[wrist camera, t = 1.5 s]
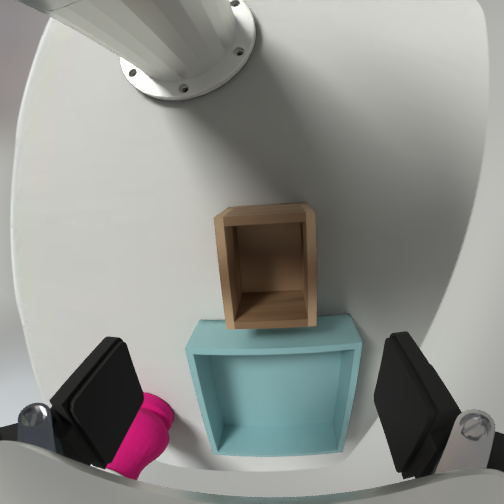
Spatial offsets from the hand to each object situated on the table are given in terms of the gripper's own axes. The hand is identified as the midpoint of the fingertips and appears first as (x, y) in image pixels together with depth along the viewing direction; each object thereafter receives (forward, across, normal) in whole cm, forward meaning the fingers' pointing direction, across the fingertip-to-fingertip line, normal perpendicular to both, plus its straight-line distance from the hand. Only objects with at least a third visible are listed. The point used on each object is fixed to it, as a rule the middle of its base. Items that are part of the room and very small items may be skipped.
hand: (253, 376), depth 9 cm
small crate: (+16, 0, 0) cm, 16 cm away
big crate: (+16, 0, +14) cm, 21 cm away
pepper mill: (+16, +16, +20) cm, 30 cm away
